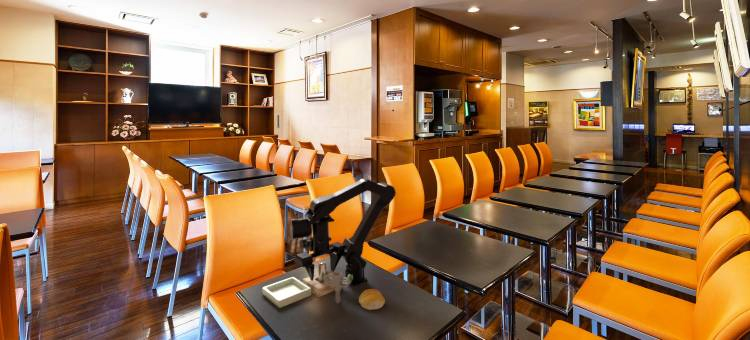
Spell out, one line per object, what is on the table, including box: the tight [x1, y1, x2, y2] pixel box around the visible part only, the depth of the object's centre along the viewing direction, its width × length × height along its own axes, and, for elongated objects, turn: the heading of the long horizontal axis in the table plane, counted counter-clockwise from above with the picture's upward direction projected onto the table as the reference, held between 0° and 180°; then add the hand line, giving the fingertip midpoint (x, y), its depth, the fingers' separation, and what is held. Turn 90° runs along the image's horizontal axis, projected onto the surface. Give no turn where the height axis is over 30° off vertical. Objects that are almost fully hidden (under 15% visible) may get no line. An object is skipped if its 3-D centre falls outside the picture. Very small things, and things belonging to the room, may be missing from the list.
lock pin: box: [316, 261, 327, 283], centre depth 127 cm, size 3×3×9 cm
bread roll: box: [358, 288, 386, 311], centre depth 117 cm, size 8×9×4 cm
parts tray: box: [262, 276, 312, 309], centre depth 123 cm, size 12×12×2 cm
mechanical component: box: [322, 270, 353, 304], centre depth 117 cm, size 3×10×10 cm, turn 78°
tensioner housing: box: [302, 273, 343, 298], centre depth 128 cm, size 10×10×3 cm
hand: (322, 276), depth 128 cm, fingers open, 8 cm apart
